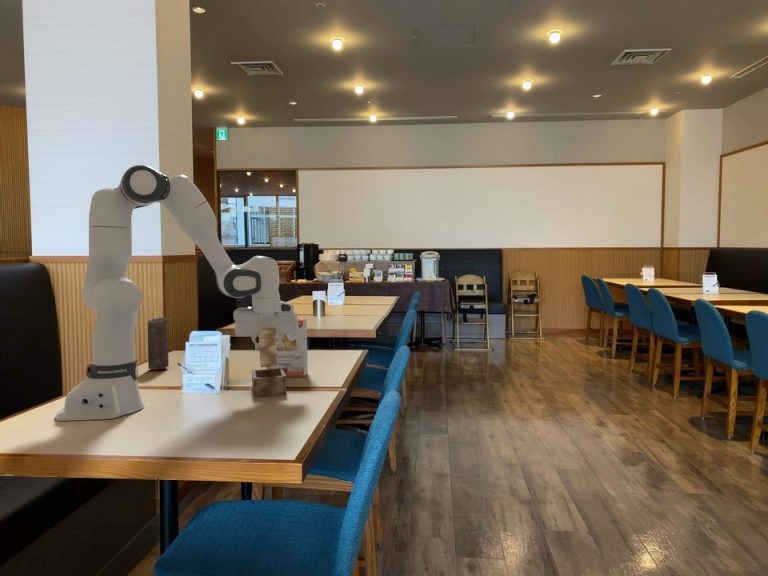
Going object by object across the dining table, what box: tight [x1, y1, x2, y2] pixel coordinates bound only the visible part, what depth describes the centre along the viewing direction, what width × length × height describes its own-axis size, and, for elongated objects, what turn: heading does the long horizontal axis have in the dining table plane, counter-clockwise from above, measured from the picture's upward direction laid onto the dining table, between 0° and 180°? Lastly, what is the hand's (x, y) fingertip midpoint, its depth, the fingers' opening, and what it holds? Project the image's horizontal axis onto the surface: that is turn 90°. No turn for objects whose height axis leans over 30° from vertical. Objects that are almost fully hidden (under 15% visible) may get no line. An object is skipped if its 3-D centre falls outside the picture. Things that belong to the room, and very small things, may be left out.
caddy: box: [251, 368, 287, 398], centre depth 182 cm, size 10×13×6 cm
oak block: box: [258, 328, 277, 368], centre depth 181 cm, size 5×8×12 cm, turn 15°
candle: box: [147, 317, 170, 371], centre depth 218 cm, size 8×7×20 cm
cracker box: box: [266, 318, 309, 378], centre depth 204 cm, size 14×6×21 cm, turn 83°
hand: (267, 348), depth 181 cm, fingers closed on oak block, 5 cm apart
